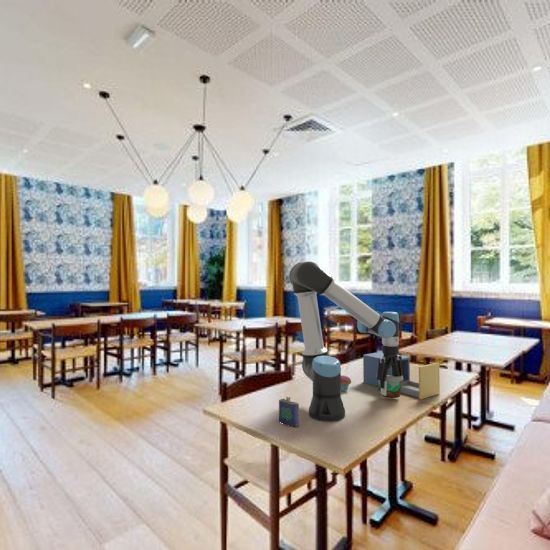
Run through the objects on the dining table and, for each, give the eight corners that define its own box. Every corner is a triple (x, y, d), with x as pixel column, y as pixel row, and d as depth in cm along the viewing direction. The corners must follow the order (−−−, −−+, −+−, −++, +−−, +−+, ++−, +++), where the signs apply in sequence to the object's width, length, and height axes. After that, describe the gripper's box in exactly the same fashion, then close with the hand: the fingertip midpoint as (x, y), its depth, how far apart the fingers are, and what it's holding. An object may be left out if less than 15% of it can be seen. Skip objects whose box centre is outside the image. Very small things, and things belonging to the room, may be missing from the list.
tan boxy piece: (420, 399, 175) (420, 367, 175) (390, 390, 190) (390, 360, 190) (439, 393, 184) (439, 362, 184) (409, 385, 198) (409, 356, 198)
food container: (375, 397, 175) (375, 375, 175) (376, 393, 181) (376, 372, 181) (402, 400, 171) (403, 378, 171) (403, 396, 177) (403, 375, 177)
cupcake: (331, 390, 190) (331, 367, 190) (337, 386, 198) (337, 363, 198) (348, 393, 186) (348, 368, 186) (353, 388, 194) (353, 365, 194)
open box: (390, 390, 190) (390, 360, 190) (363, 382, 205) (363, 354, 205) (409, 385, 198) (409, 357, 198) (382, 378, 213) (381, 351, 213)
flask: (300, 426, 146) (299, 398, 146) (295, 428, 143) (295, 400, 144) (281, 420, 152) (280, 393, 152) (276, 422, 149) (276, 395, 149)
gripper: (381, 348, 168) (381, 399, 167) (411, 344, 179) (411, 391, 179) (368, 345, 174) (368, 394, 174) (398, 341, 186) (398, 388, 185)
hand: (390, 393), depth 176 cm, fingers closed on food container, 8 cm apart
